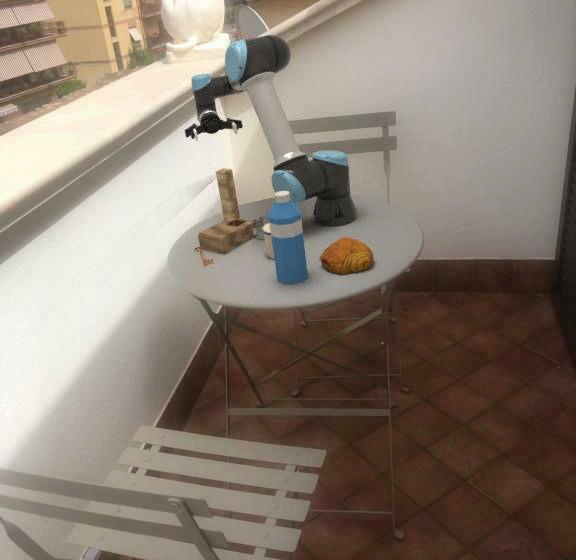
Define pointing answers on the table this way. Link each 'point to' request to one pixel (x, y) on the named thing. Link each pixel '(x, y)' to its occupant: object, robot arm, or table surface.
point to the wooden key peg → (227, 193)
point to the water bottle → (287, 240)
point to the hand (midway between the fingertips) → (216, 133)
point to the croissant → (347, 256)
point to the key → (203, 257)
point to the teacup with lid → (268, 241)
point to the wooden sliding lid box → (226, 235)
